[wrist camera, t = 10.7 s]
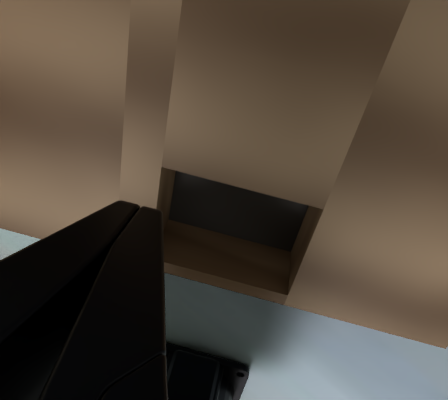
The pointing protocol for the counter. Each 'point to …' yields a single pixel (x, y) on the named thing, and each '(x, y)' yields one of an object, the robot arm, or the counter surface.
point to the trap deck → (244, 142)
